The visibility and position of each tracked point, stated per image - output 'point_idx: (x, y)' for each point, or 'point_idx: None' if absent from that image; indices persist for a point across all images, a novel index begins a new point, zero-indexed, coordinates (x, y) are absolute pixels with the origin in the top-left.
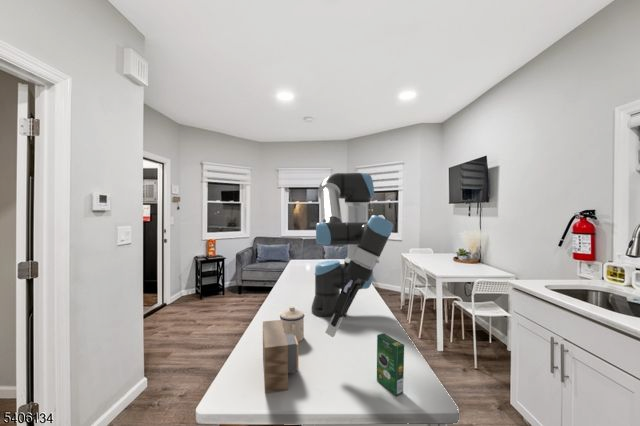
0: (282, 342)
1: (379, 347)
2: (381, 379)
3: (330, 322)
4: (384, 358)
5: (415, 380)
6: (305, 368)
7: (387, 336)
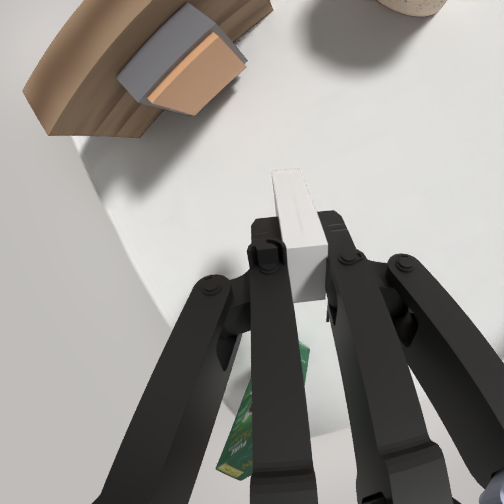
0: (54, 104)
1: None
2: None
3: (278, 207)
4: None
5: (330, 405)
6: (248, 113)
7: None
